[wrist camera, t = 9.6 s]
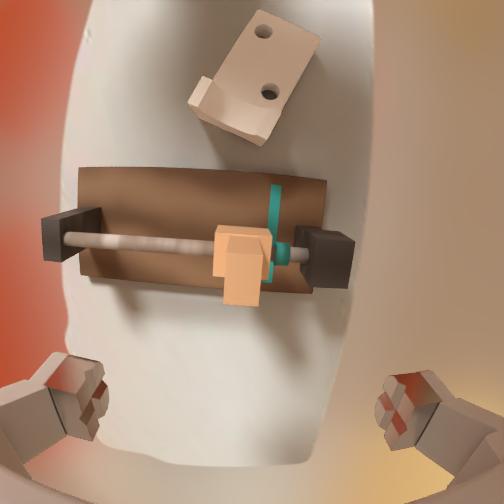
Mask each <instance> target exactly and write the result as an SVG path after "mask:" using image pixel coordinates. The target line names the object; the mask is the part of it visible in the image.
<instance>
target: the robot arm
mask: <svg viewBox="0 0 504 504" xmlns="http://www.w3.org/2000/svg"><path fill="white" fill-rule="evenodd" d="M104 374H105V372H104V368H103V364H102V363H101V362H99V361H95V360H91V359H86V358H82V357H78V356H74V355H69V354H65V353H61V352H53V353H52V354H51V355H50V357H49V358H48V359H47V360H46V361H45V363H43V365H42V366H41V367H40V368H39V369H38V370H37V372H36V373H35V374H34V375H33V376H32V377H31V379H30V380H29V381H28V380H22V381H19V382H17V383H14V384H11V385H8V386H5V387H3V388H0V504H96V503H93V502H89V501H86V500H83V499H80V498H77V497H74V496H72V495H69V494H66V493H63V492H61V491H58V490H56V489H53V488H51V487H48V486H46V485H43V484H41V483H39V482H37V481H34V480H33V479H32V476H31V475H30V473H29V472H28V470H27V469H26V468H25V466H24V464H25V463H26V462H28V461H29V460H31V459H33V458H34V457H36V456H37V455H39V454H40V453H42V452H43V451H45V450H46V449H48V448H49V447H51V446H52V445H54V444H55V443H57V442H58V441H60V440H61V439H63V438H64V437H66V435H69V436H73V437H77V438H80V439H84V440H88V441H93V439H94V437H95V435H96V433H97V431H98V428H99V426H100V425H99V422H98V419H99V418H101V417H103V416H104V415H105V413H106V411H107V409H108V404H109V391H108V386H107V385H106V383H105V382H104V381H103V380H102V378H103V376H104ZM383 388H384V391H385V392H384V393H383V394H382V395H381V396H380V397H378V400H377V403H376V405H375V417H376V421H377V423H378V425H379V426H380V427H382V428H383V429H385V430H386V432H385V434H384V437H385V439H386V441H387V443H388V445H389V447H390V449H391V451H394V450H399V449H404V448H409V447H414V446H415V448H416V449H417V450H419V451H420V452H421V453H423V454H424V455H425V456H427V457H428V458H429V459H431V460H432V461H434V462H435V463H436V464H438V465H439V466H441V467H442V468H443V469H445V470H446V471H448V472H449V473H450V474H452V475H453V476H455V478H454V479H453V480H452V481H451V482H450V484H449V485H448V486H447V488H446V490H443V491H441V492H438V493H435V494H433V495H430V496H427V497H424V498H421V499H418V500H415V501H412V502H409V503H406V504H504V417H502V416H500V415H497V414H495V413H493V412H490V411H488V410H486V409H483V408H481V407H479V406H476V405H474V404H472V403H470V402H468V401H465V400H463V399H461V398H457V399H456V398H455V397H454V396H453V394H452V393H451V392H450V391H449V390H448V389H447V387H446V386H445V385H444V384H443V383H442V381H441V380H440V379H439V378H438V377H437V376H436V374H435V373H434V372H433V371H430V370H425V371H419V372H416V373H408V374H399V375H390V376H388V377H387V378H386V380H385V382H384V384H383Z"/></svg>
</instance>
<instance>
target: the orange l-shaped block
mask: <svg viewBox="0 0 504 504" xmlns="http://www.w3.org/2000/svg"><path fill="white" fill-rule="evenodd" d="M271 247H272V235H271V233H270V231H269V229H266V228H253V227H240V226H226V225H218V227H217V229H216V231H215V241H214V259H213V276H216V277H225V280H224V297H223V304H227V305H242V306H258V305H259V295H260V285H261V280H268V276H269V267H270V257H271Z"/></svg>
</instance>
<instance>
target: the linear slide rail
mask: <svg viewBox="0 0 504 504" xmlns="http://www.w3.org/2000/svg"><path fill="white" fill-rule="evenodd" d="M326 184H327V180H321V179H313V178H304V177H295V176H286V175H276V174H265V173H254V172H241V171H227V170H211V169H192V168H165V167H79V172H78V208H77V209H74V210H70V211H66V212H63V213H59V214H56V215H52V216H49V217H45V218H42V219H41V226H42V244H43V256H44V260H45V261H54V262H63V261H65V260H66V259H68V258H70V257H72V256H74V255H75V254H77V253H79V261H80V274H81V275H85V276H94V277H103V278H112V279H121V280H131V281H141V282H152V283H162V284H173V285H185V286H197V287H210V288H223V289H224V280H225V277H216V276H213V259H214V241H215V231H216V229H217V227H218V225H226V226H240V227H253V228H266V229H269V231H270V233H271V235H272V247H271V257H270V267H269V276H268V280H261V285H260V291H269V292H287V293H307V294H312V292H313V287H321V288H343V289H347V288H348V283H349V277H350V272H351V266H352V260H353V254H354V247H355V241H353V240H352V239H350V238H348V237H347V236H345V235H344V234H342V233H340V232H338V231H327V230H322V229H321V228H322V220H323V212H324V203H325V193H326Z"/></svg>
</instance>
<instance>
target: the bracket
mask: <svg viewBox="0 0 504 504" xmlns="http://www.w3.org/2000/svg"><path fill="white" fill-rule="evenodd" d="M259 37H264V38H266V39H262V38H259ZM321 40H322V38H320V37H318V36H316V35H315V34H313V33H311V32H309V31H307V30H305V29H303V28H301V27H298V26H296V25H294V24H292V23H290V22H288V21H286V20H283V19H281V18H279V17H277V16H274V15H272V14H270V13H267V12H265V11H262V10H260V9H258V10H257V11H256V13H255V14H254V16H253V17H252V19H251V20H250V21H249V23H248V24H247V26H246V27H245V29H244V30H243V32H242V33H241V35H240V36H239V38H238V39H237V41H236V42H235V44H234V46H233V47H232V49H231V50H230V52H229V53H228V55H227V57H226V58H225V60H224V62H223V63H222V65H221V66H220V68H219V70H218V71H217V73H216V75H215V77H214V78H213V80H212V79H209V78H207V77H204V76H202V78H201V79H200V81H199V83H198V85H197V86H196V88H195V90H194V92H193V93H192V95H191V97H190V99H189V100H188V102H187V103H188V104H189V106H190V107H191V108H192V110H193V111H194V112H195V114H196V115H197V116H198V118H199V119H202V120H204V121H206V122H208V123H210V124H213V125H215V126H217V127H219V128H221V129H224V130H226V131H228V132H232V133H234V134H236V135H238V136H240V137H242V138H244V139H246V140H248V141H250V142H252V143H254V144H256V145H258V146H260V147H262V146H263V144H264V143H265V142H266V141H267V139H268V137H269V136H270V134H271V132H272V130H273V128H274V126H275V124H276V123H277V121H278V119H279V117H280V115H281V113H282V112H281V111H282V109H283V107H284V105H285V104H286V102H287V100H288V98H289V96H290V95H291V93H292V91H293V89H294V87H295V86H296V84H297V82H298V80H299V78H300V77H301V75H302V73H303V71H304V70H305V68H306V66H307V64H308V63H309V61H310V59H311V57H312V56H313V54H314V52H315V50H316V49H317V47H318V45H319V43H320V42H321ZM264 90H271V91H273V92H274V93H275V94H276V96H277V98H276V99H274V100H268V99H265V98H264V97H263V96H262V94H261V92H262V91H264Z"/></svg>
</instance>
